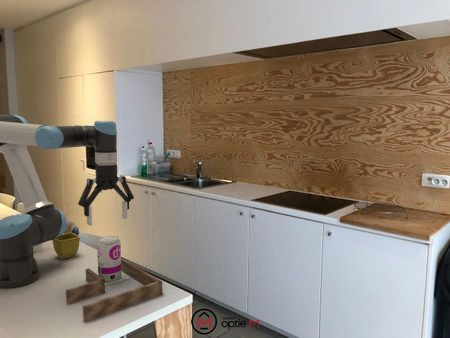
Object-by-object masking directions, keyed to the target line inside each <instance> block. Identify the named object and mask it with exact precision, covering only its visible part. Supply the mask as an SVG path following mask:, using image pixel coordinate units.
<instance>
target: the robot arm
mask: <svg viewBox="0 0 450 338" xmlns="http://www.w3.org/2000/svg"><path fill="white" fill-rule="evenodd" d="M117 138H118V132H117V124H116V122H115V121H114V120H95V121H94V123H93V125H92V126H91V125H77V124H76V125H75V124H74V125H51V124H50V125H48V124H36V123H35V124H34V123H28V121H27V120H26V119H25V118H24V117H23V116H20V115H18V114H17V115H16V114H13V113H12V114H10V113H6V114H1V113H0V153H1V154H3V157H4V159H5V161H6V163H7V167H8V169H9V172H10V173H11V176H12V179H13V182H14V184H15V187H16V189H17V192H18V195H19V197H20V199H21V200H20V201H21V202H22V204H23V208H24V210H25V211H24V210H23V213H18V214H11V215H9V216H5V217H3V218H1V219H0V288H1V289H11V288H12V289H14V288H18V287H23V286H27V285H29V284H32V283H34V282H36V281H37V280H39V279H40V277H41V269H40V267H39V265H38V263H37V260H36V257H35V252H34V250H33V247H34V246H36V245H39V244H42V243H43V244H45V243H46V242H50V241H52V240H53V239H55V238H57V237H59V236H61V235H62V234H65V232H66V228H67V224H68V223H67V217H66V215H65V213H64V211H62V210H61V209H59V208H56V206H55V204H54V203H53V202H50V201H49V200H48V198H47V195H46V194H45V190H44V187H43V186H42V183H41V180H40V178H39V175H38V173H37V170H36V167H35V166H34V163H33V160H32V158H31V156H30V153H29V151H28V146H30V147H39V148H40V149H43V150H56V149H66V148H80V147H81V148H82V147H86V148H87V147H88V148H90V147H91V148H92V147H93V148H94V159H95V164H96V165H95V166H94V167H95V178H86V184H85V187H84V190H83V191H82V193H81V196H80V198H79V200H78V203H77V205H78V206H80V207H82V208H83V214H84V216H85V217H86V225H88V226H90V227H91V226H93V214H92V213H93V211H92V208H93V207H92V206H91V205H92V204H93V202H94V201H95V199H96V198H97V197H98V196H99V194H100V193H102V191H108V190H110V191H111V190H115V192H116V193H117V195H119V197H121V198H122V201H121V213H122V215H121V217H122V218H123V220H127V219H128V210H130V202H131V200H134V199H135V197H134V194H133V192H132V190H131V188H130V186H129V184H128V182H127V177H126V176H125V175H119V176H118V164H117V163H118V149H117V147H118V146H117V145H118V144H117V141H118V139H117ZM118 182H119V183H120V184H121V187H122V188H123V190H124V191H123V190H122V189H121V187H120V186H119V185H118V184H117V183H118ZM94 184H96V186H95V187H94V189H93V190H92V188H93V186H94Z"/></svg>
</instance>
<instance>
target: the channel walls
mask: <svg viewBox="0 0 450 338" xmlns="http://www.w3.org/2000/svg"><path fill="white" fill-rule="evenodd" d="M121 272H122V273H123V274H126V276H129V277H131V278H132V279H133V280H135V281H137V282H138V283H140V284H142V285H143V286H140V287H139V286H138V287H136V288H133V289H130V290H127V291H123V292H121V293H118V294H115V295H111V296H108V297H105V298H102V299H100V300H96V301H93V302H91V303H88V304H84V305H83V306H82V319H83V320H82V321H83V322H84V323H86V322H89V321H92V320H94V319H97V318H101V317H103V316H106V315H109V314H112V313H114V312H116V311H118V310H119V311H120V310H122V309H125V308H127V307H131V306H134V305H136V304H139V303H141V302H144V301H147V300H150V299H152V298H155V297H159V296H161V295H163V281H162V280H161V279H159V278H157V277H156V276H154V275H152V274H150V273H149V272H147V271H145V270H144V269H142V268H140V267H138V266H136V265H135V264H133V263H132V262H130V261H128V260H126V259H124V258H121ZM85 281H86V282H87V283H84V284H82V285H78V286H73V287H71V288H67V289H65V303H66V305H70V304H74V303H77V302H80V301H83V300H87V299H90V298H92V297H96V296H98V295H101V294H104V293H106V286H105V280H104V279H103V278H101V277H100V276H99V275H98V274H97V273H96V272H94V270H92V269H91V268H89V267H88V268H85Z"/></svg>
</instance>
